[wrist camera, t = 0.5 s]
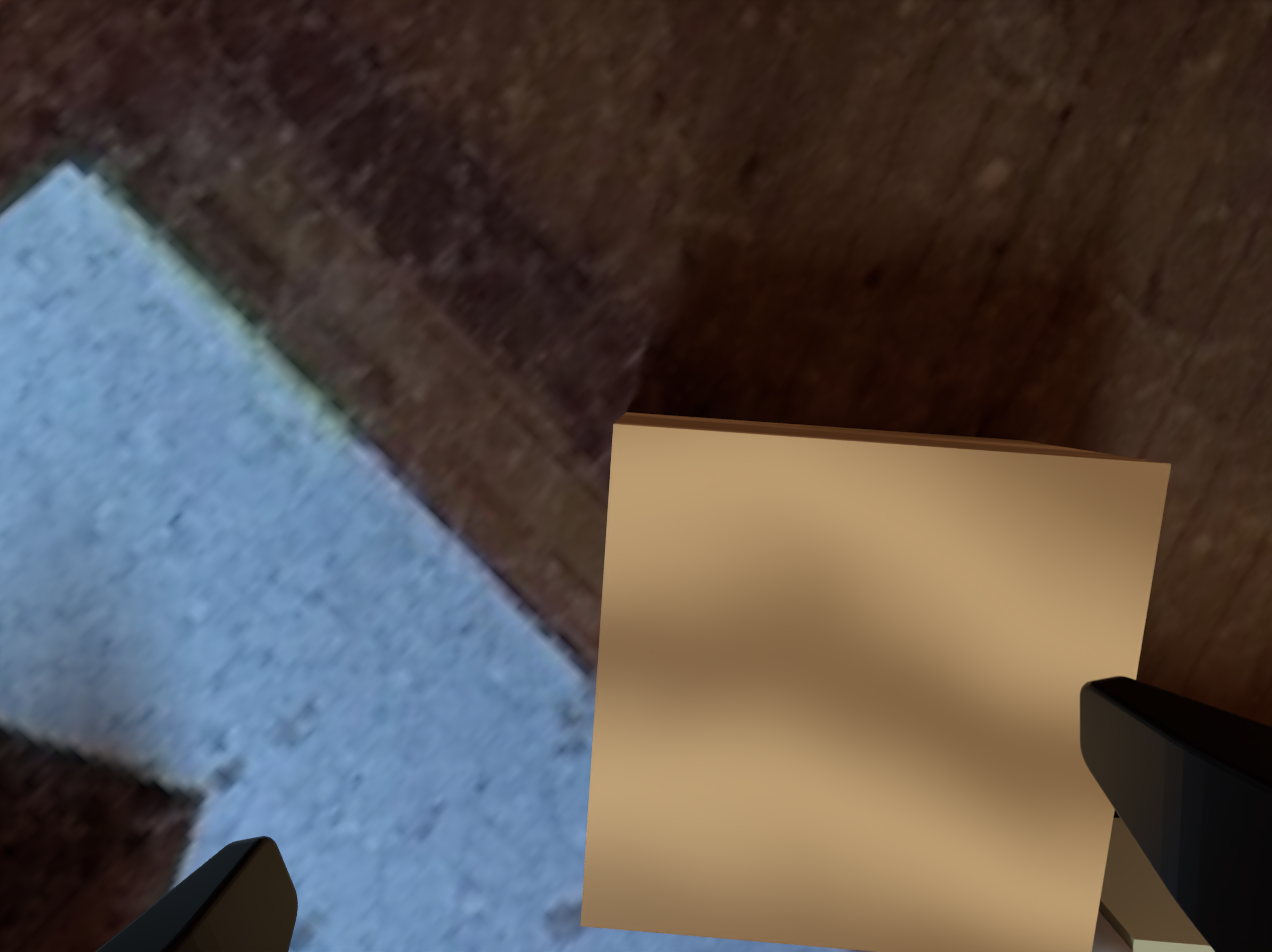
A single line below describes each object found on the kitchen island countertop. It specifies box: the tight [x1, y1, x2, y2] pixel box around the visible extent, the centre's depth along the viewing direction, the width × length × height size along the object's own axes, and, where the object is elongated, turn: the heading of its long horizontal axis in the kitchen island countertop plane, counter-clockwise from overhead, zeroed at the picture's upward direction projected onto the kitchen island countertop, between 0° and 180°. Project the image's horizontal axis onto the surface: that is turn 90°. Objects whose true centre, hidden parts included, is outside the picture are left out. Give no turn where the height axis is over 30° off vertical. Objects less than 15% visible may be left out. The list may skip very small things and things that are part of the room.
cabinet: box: [581, 412, 1171, 952], centre depth 20 cm, size 12×12×6 cm
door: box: [1092, 818, 1215, 952], centre depth 20 cm, size 12×1×6 cm, turn 86°
